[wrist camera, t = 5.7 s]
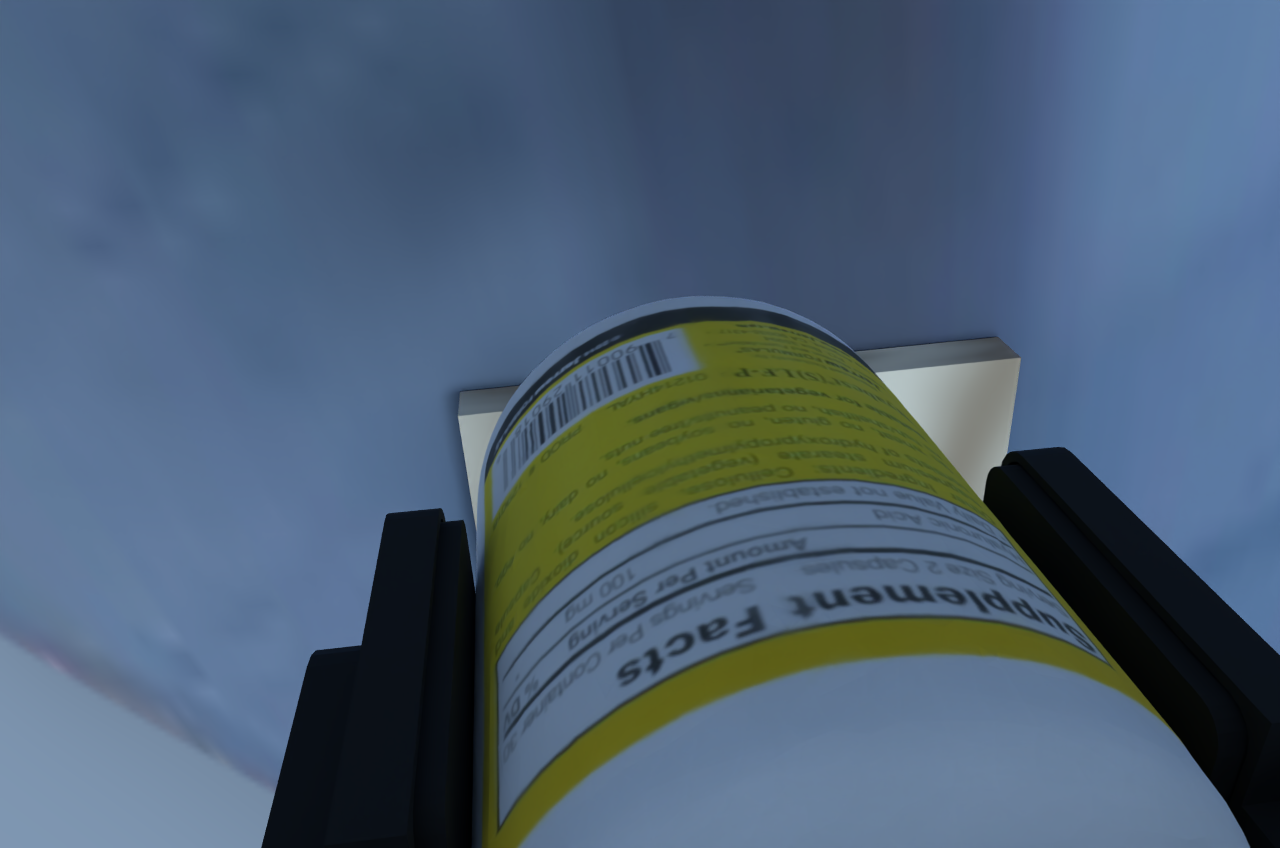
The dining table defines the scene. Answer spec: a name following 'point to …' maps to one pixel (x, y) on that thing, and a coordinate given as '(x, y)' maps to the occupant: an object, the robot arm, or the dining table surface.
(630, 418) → the supplement bottle
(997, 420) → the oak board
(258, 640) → the dining table surface
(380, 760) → the robot arm
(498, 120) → the dining table surface
